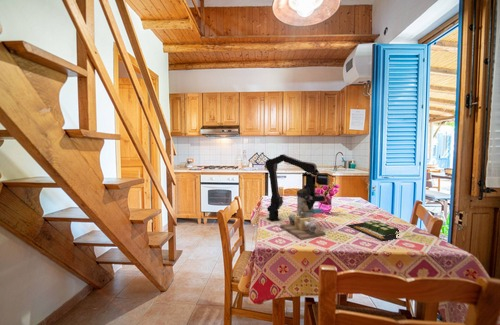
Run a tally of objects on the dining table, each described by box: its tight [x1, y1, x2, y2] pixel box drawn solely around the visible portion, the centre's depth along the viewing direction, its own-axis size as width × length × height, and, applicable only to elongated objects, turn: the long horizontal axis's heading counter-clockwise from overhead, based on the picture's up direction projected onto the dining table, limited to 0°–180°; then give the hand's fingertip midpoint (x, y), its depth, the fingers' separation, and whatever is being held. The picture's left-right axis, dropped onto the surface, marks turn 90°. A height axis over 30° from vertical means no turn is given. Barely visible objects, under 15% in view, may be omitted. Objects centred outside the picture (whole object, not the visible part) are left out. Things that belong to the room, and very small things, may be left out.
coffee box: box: [296, 194, 314, 218], centre depth 156 cm, size 9×6×16 cm
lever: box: [299, 207, 323, 215], centre depth 130 cm, size 15×3×2 cm, turn 115°
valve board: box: [279, 213, 326, 241], centre depth 128 cm, size 20×16×9 cm
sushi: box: [345, 220, 399, 242], centre depth 131 cm, size 25×25×4 cm
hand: (309, 209), depth 137 cm, fingers closed
